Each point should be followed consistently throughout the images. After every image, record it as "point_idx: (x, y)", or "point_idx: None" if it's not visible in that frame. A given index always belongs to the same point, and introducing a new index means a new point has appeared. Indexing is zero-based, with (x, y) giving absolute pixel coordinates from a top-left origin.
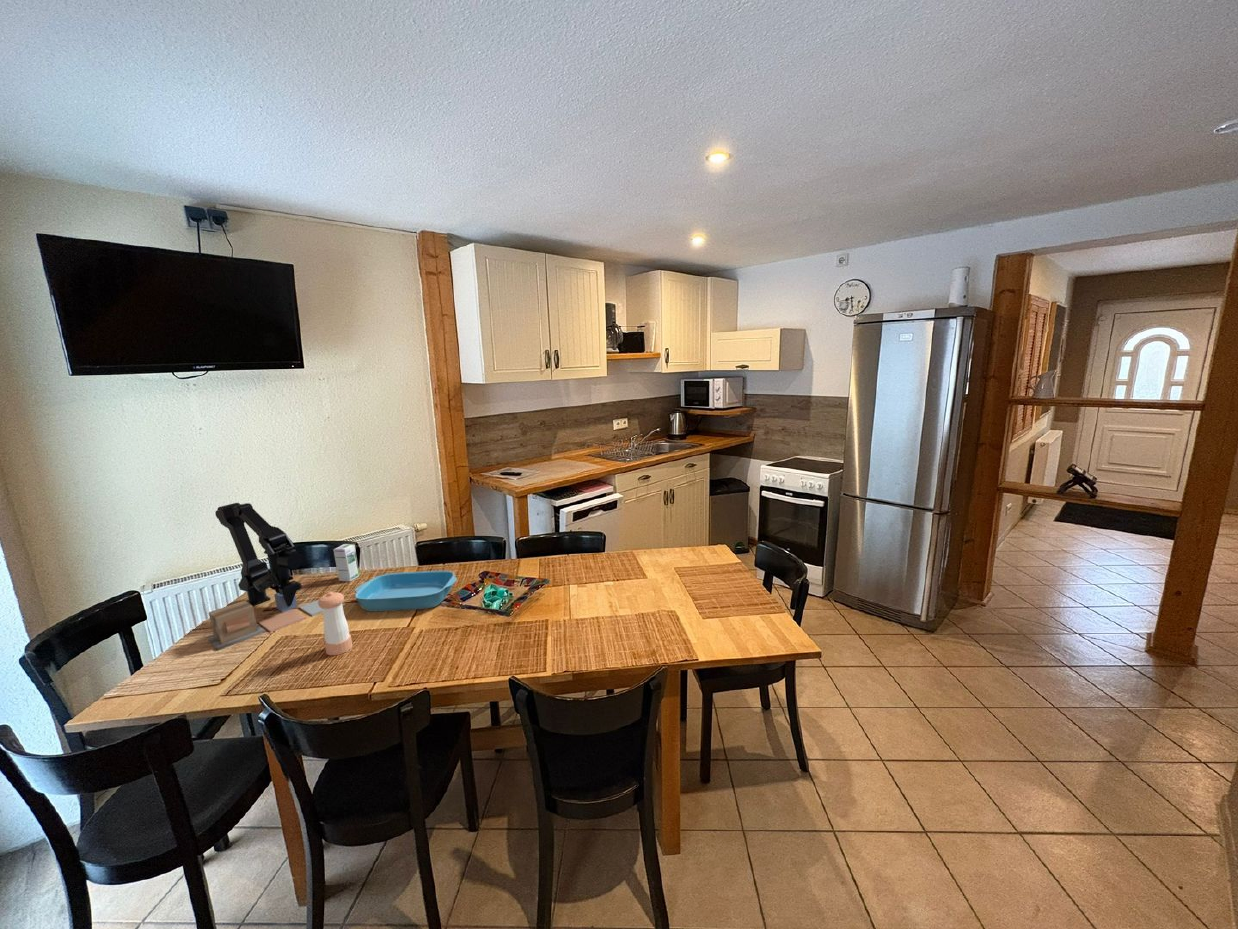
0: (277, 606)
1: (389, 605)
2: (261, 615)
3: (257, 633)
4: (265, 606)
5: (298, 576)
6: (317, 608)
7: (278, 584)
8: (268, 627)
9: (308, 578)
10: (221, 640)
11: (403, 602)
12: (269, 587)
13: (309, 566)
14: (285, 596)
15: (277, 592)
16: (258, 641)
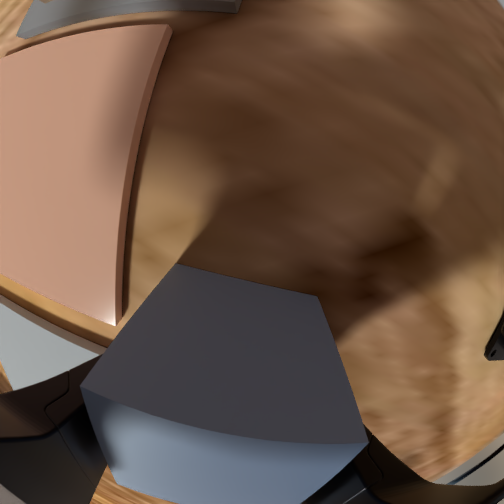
0: (296, 310)
1: None
2: (346, 142)
3: (36, 2)
4: (462, 287)
5: (466, 459)
6: (19, 352)
7: None
8: (20, 58)
9: (424, 478)
10: None
11: None
12: (498, 495)
13: (463, 476)
14: (18, 397)
15: (357, 474)
16: (6, 11)
